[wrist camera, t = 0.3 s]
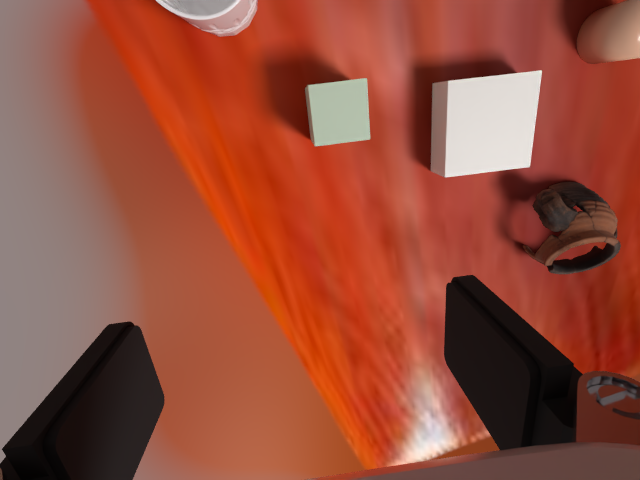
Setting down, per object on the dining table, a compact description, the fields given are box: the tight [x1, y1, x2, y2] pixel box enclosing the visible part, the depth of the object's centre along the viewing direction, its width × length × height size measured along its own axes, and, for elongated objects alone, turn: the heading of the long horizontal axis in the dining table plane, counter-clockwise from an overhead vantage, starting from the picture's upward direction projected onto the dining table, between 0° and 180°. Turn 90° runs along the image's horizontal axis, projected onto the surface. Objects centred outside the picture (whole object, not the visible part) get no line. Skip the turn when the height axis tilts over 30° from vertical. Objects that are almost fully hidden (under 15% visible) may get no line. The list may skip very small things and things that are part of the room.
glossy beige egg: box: [577, 0, 640, 64], centre depth 32 cm, size 5×5×5 cm
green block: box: [305, 78, 370, 146], centre depth 32 cm, size 5×5×6 cm
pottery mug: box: [523, 182, 621, 274], centre depth 39 cm, size 12×9×8 cm
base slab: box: [431, 70, 542, 177], centre depth 35 cm, size 9×9×4 cm
